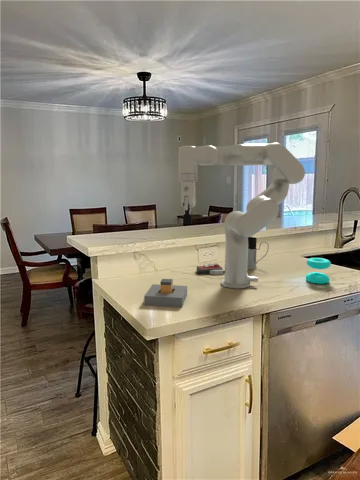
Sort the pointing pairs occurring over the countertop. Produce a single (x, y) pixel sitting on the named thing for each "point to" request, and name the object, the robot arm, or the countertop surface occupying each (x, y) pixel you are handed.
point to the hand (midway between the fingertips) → (187, 223)
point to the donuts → (317, 276)
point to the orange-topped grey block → (166, 285)
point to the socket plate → (165, 296)
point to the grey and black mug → (253, 252)
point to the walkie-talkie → (210, 269)
